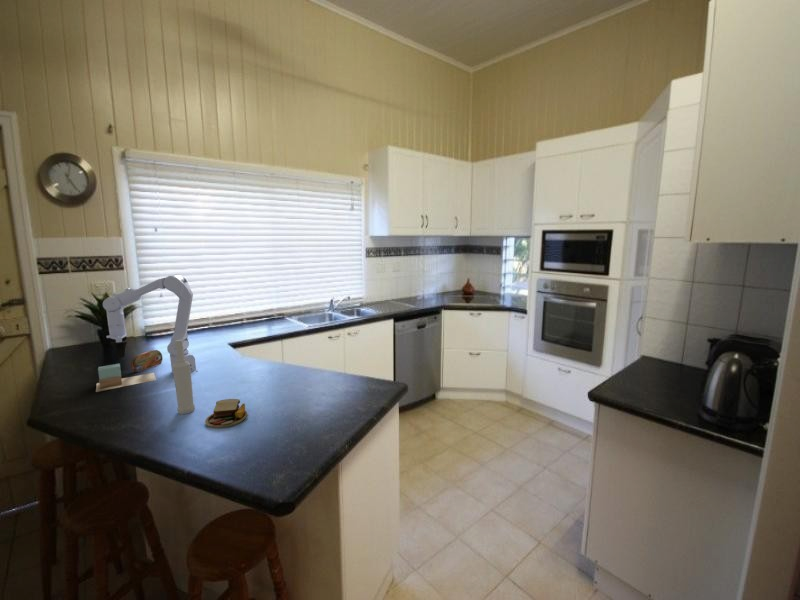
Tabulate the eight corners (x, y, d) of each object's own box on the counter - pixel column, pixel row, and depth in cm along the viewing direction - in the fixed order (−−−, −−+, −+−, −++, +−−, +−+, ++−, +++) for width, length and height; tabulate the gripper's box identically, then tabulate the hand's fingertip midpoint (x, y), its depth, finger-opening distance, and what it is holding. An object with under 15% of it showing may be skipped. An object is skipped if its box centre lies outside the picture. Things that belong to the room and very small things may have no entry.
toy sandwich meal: (198, 431, 116) (197, 416, 115) (215, 411, 129) (214, 398, 128) (240, 428, 117) (239, 413, 116) (253, 409, 130) (252, 396, 129)
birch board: (154, 374, 168) (153, 372, 168) (156, 382, 159) (156, 379, 158) (96, 385, 156) (96, 383, 156) (96, 394, 147) (95, 391, 146)
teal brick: (121, 375, 154) (119, 366, 154) (99, 379, 150) (98, 370, 149) (120, 372, 158) (119, 363, 157) (99, 376, 154) (98, 367, 153)
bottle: (191, 406, 133) (183, 337, 129) (197, 410, 130) (190, 339, 126) (175, 411, 129) (167, 340, 125) (181, 415, 126) (173, 343, 122)
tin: (136, 375, 168) (134, 357, 167) (130, 375, 169) (128, 356, 167) (164, 364, 183) (162, 348, 181) (158, 364, 183) (156, 347, 182)
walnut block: (122, 384, 154) (120, 376, 153) (100, 388, 150) (99, 380, 149) (121, 380, 159) (120, 372, 159) (100, 384, 155) (99, 375, 155)
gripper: (105, 323, 164) (109, 353, 166) (104, 328, 152) (109, 361, 154) (125, 321, 168) (128, 350, 170) (126, 326, 157) (130, 357, 159)
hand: (121, 355), depth 162 cm, fingers open, 7 cm apart
